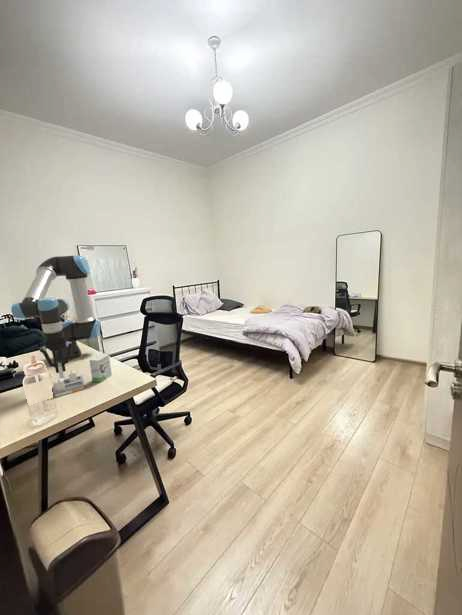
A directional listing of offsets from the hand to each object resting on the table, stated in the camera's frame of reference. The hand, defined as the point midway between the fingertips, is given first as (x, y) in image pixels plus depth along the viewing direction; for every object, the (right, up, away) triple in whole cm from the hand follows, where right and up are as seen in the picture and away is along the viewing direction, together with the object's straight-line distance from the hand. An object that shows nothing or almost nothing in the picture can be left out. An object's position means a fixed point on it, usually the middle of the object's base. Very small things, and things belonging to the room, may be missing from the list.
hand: (62, 378), depth 121 cm
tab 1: (+4, -4, -6) cm, 8 cm away
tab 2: (+4, -2, +3) cm, 5 cm away
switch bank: (+4, -4, -1) cm, 6 cm away
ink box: (+16, -3, +7) cm, 18 cm away
